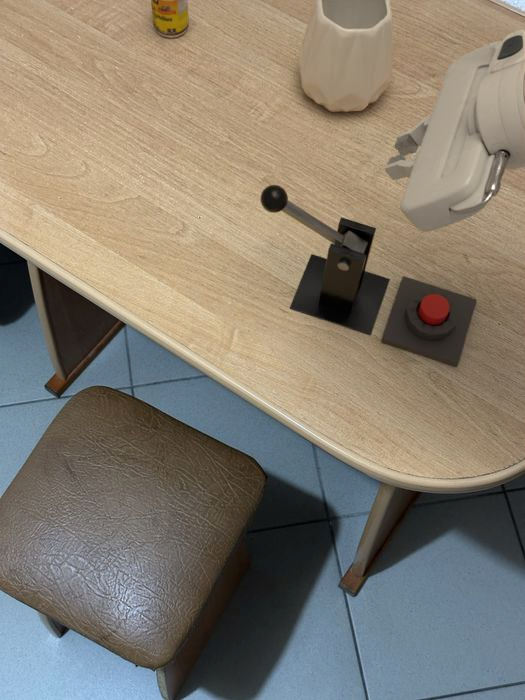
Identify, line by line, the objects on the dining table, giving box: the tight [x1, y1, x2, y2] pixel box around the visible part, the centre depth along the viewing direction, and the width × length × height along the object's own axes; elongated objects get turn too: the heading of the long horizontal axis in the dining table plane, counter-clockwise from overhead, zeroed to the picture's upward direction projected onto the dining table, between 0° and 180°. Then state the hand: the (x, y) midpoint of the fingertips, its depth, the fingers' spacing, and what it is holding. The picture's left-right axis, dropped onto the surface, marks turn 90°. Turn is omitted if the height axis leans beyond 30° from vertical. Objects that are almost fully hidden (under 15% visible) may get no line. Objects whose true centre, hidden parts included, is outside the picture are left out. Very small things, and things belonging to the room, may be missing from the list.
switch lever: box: [259, 184, 368, 254], centre depth 99 cm, size 14×3×3 cm, turn 70°
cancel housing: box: [380, 275, 477, 368], centre depth 108 cm, size 10×10×4 cm
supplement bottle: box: [150, 0, 190, 39], centre depth 128 cm, size 6×6×10 cm
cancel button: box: [418, 294, 450, 325], centre depth 105 cm, size 4×4×2 cm
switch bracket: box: [289, 217, 390, 336], centre depth 105 cm, size 11×9×14 cm
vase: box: [298, 0, 395, 113], centre depth 121 cm, size 14×14×15 cm
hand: (394, 157), depth 85 cm, fingers closed
